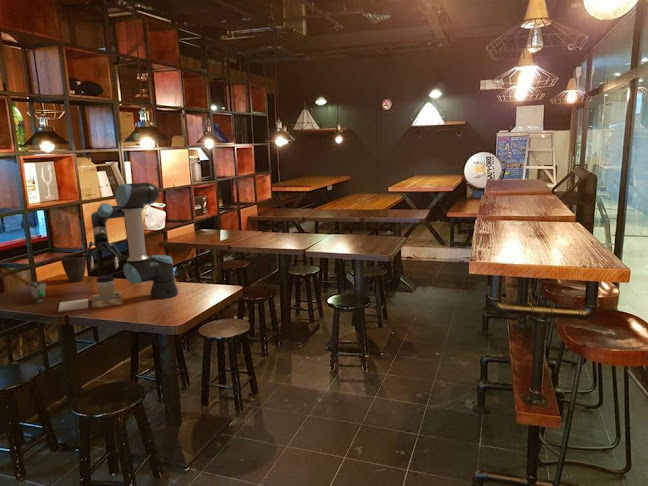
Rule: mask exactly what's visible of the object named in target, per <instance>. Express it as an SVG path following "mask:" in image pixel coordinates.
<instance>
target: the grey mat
mask: <svg viewBox="0 0 648 486" xmlns="http://www.w3.org/2000/svg"><path fill="white" fill-rule="evenodd" d="M88 308H89V298H84V299H76V300H67V301H61V302H59V305H58V310H57V311H58V312H66V311H72V310H73V311H74V310H83V309H88Z"/></svg>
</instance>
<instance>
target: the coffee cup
mask: <svg viewBox="0 0 648 486" xmlns="http://www.w3.org/2000/svg"><path fill="white" fill-rule="evenodd" d="M95 280H96V287H97V292H98V294H99V296H100V300H99V301H102V300H110V299H115V298H114V292H115V278H114V276H112V275H111V274H108V273H107V274H103V275H100V276H98V277H97V278H96V279H95Z"/></svg>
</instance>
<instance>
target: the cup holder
mask: <svg viewBox="0 0 648 486" xmlns="http://www.w3.org/2000/svg"><path fill="white" fill-rule="evenodd" d="M123 304H124V303H123V296H122V291H114V299H110V300H102V301H100V296H99V293H98V294H92V295H91V308H93V309H94V308H102V307H109V306H117V305H118V306H119V305H123Z"/></svg>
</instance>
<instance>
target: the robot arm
mask: <svg viewBox="0 0 648 486" xmlns="http://www.w3.org/2000/svg"><path fill="white" fill-rule="evenodd" d="M114 196H115V197H114V199H115V203H116V205H111V204H109V203H106V202H105V203H101V204H100V205H99V207H98V208H97V210H96V211H94V212H92V213H91V214H90V217H91V218H90V221H91V226H92V234H93V241H94V242H93V241H89V244H88V247H87V249H86V251H85V253H84V254H85V255H84V257H86V259H87V260H88V263H90V268H91V269H94V267H95V265H94V257H93V255H94V254H95V253H96V252H97V251H106V252H108V253H109V254H110V255H112V256H113V258H114V266H115V267H114V268H115V270H116V269H118V268H119V262H120V258H121V257H122V256H123V255H122V253H121V251H120V250H119V249H118V248H117V246H116V244H115V242H114V241H112V242H111V243H110V242H109V236H108V229H107V222H108V220H111V219H113V220H114V219H118V218H119V219H120V218H125V219H124V221H125V229H126V237H127V247H128V255H129V256H128V257H127V259H126V263H125V264H124V265H123V269H122V270H123V274H124V277H125V278H126V280H127V281H128V282H129V283H130V284H132V285H133V284H134V285H136V284H141V283H146V282H149V281H152V286H151V289H150V293H149V294H150V297H151V298H153V299H169V298H174V297H176V296H177V294H178V295H179V289H178V286H177V285H176V283H175V275H174V262H173V258H172V256H170V255H164V254H154V255H151V256H149V255H147V249H146V244H145V243H146V241H145V232H144V222H143V214H142V213H143V212H142V211H143V210H144V209H145V206H150V205H152V204H154V203H156V202H157V201H158V199H159V198H160V192H159V189H158V187H157V186H156V185H155V184H153V183H150V182H135V183H133V182H132V183H124V184H122V183H121V184H120V185H119V186H117V188H116V190H115V194H114ZM93 246H94V248H93V250H92V251H91V249H92V247H93ZM90 251H91V252H90ZM89 252H90V253H89ZM173 296H174V297H173Z"/></svg>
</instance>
